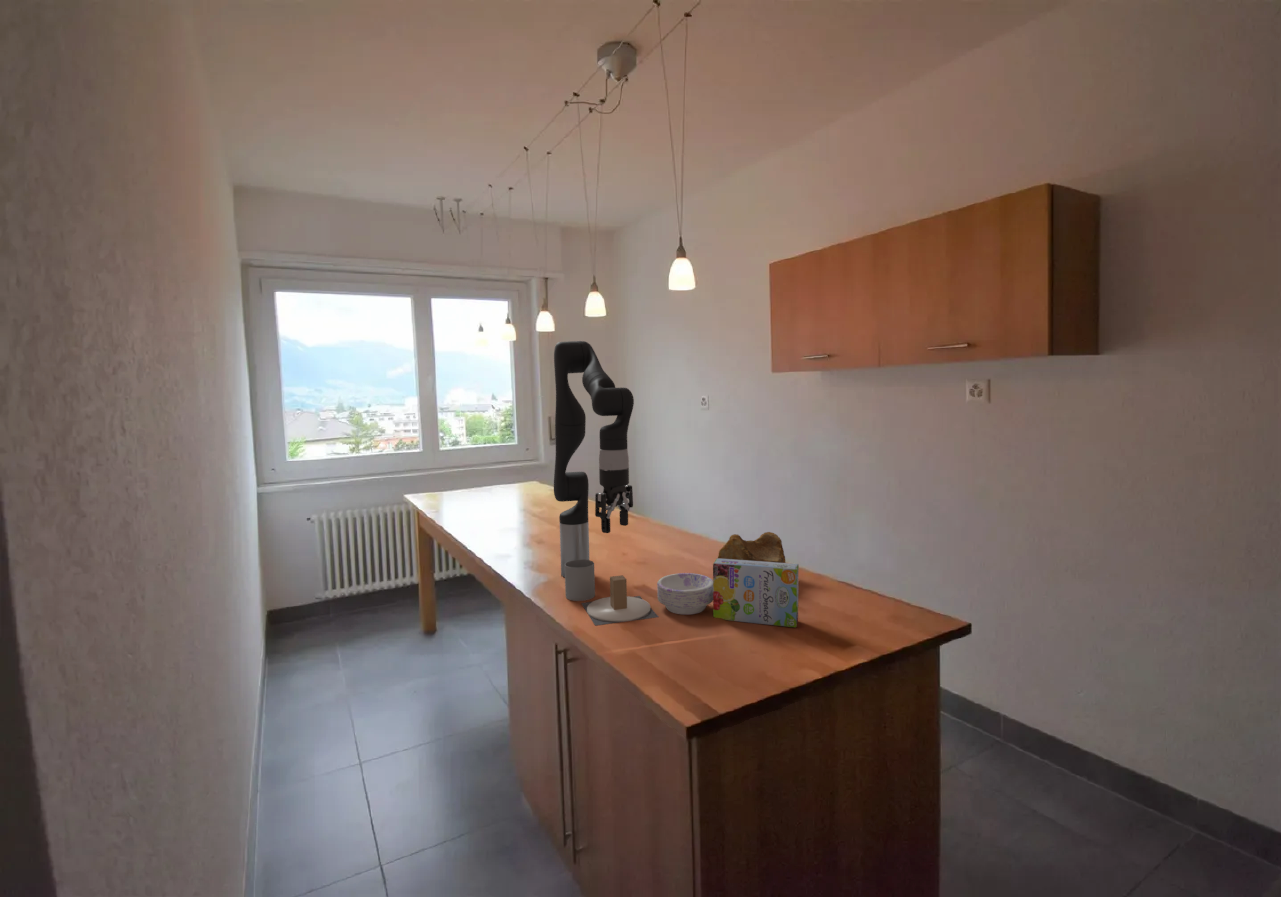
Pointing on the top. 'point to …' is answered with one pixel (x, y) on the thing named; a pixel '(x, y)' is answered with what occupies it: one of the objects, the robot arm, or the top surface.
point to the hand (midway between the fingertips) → (615, 528)
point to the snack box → (756, 592)
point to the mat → (600, 622)
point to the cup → (579, 580)
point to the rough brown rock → (754, 549)
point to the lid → (618, 604)
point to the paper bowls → (685, 592)
